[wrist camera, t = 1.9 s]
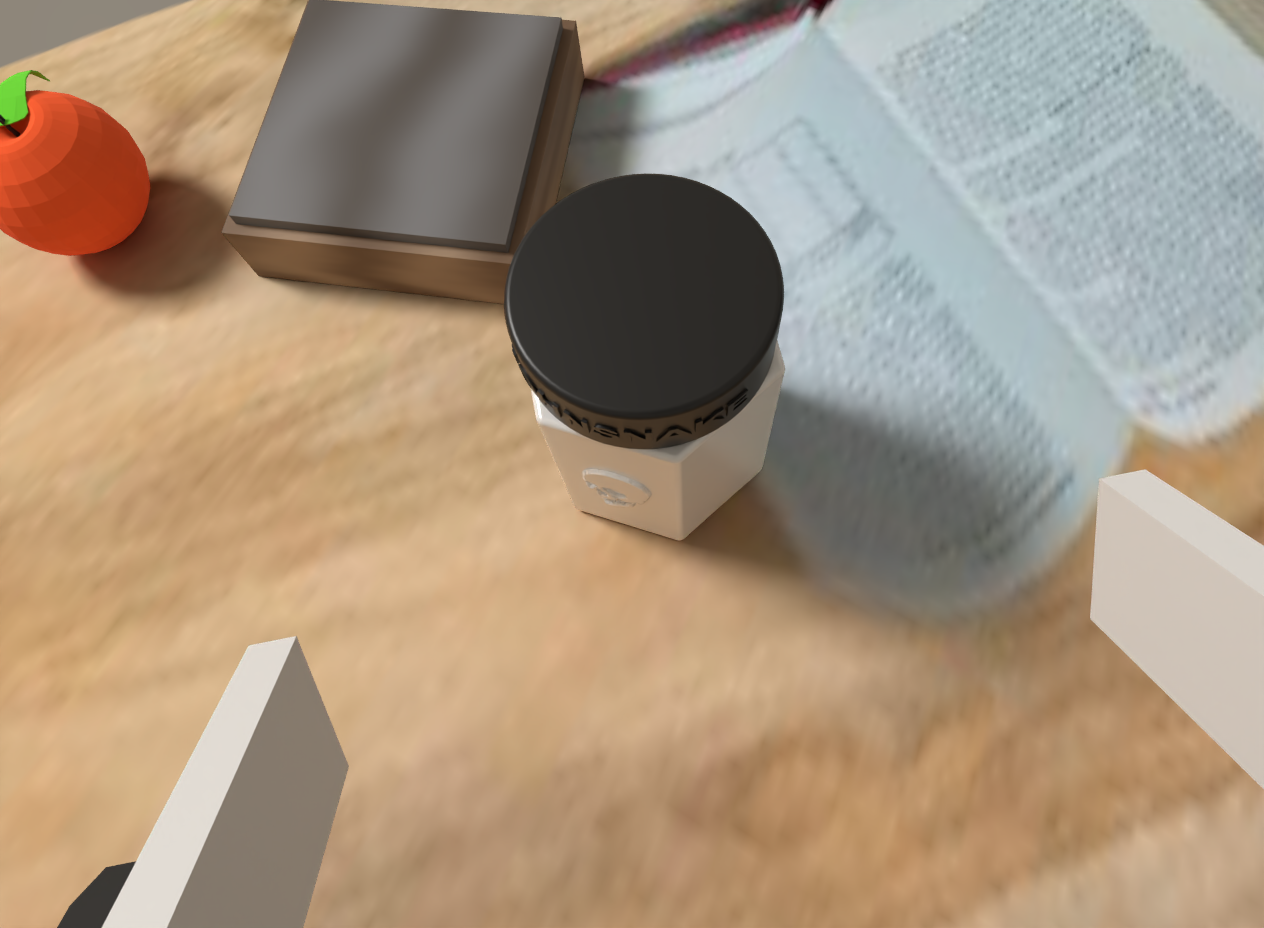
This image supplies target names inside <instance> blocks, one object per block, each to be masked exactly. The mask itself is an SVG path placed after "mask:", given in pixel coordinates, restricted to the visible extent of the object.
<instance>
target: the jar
mask: <svg viewBox="0 0 1264 928" xmlns="http://www.w3.org/2000/svg"><path fill="white" fill-rule="evenodd" d="M783 303H784V285H783V276H782V271H781V267H780V263H779V260H778V257H777V254H776V251H775V249H774V247H773V245H772V243H771V241H770V239H769V237H768V236H767V234H766V232H765V231H764V230H763V228H762V227H761V226H760V224H759V223H758V222H757V221H756V220H755V218H754V217H753V216H752V215H751V214H750V213H749V212H748V211H747V210H746V209H744V208H743V207H742V206H741V205H740V204H738V203H737V202H736V201H734V200H733V199H732V198H730V197H728V196H727V195H725V194H723V193H722V192H720V191H718V190H716V189H714V188H712V187H710V186H708V185H705V184H702V183H700V182H697V181H694V180H690V179H687V178H683V177H678V176H672V175H664V174H632V175H625V176H619V177H614V178H610V179H606V180H603V181H599V182H596V183H593V184H591V185H589V186H586V187H584V188H582V189H580V190H578V191H576V192H574V193H572V194H570V195H568V196H567V197H565V198H564V199H562V200H561V201H559V202H558V203H556V204H555V205H554V206H552V207H551V208H550V209H549V210H548V211H547V212H545V213H544V214H543V215H542V216H541V217H540V218H539V219H538V220H537V221H536V222H535V223H534V225H533V226H532V227H531V228H530V229H529V231H528V232H527V233H526V235H525V236H524V238H523V239H522V241H521V243H520V244H519V246H518V248H517V250H516V252H515V254H514V256H513V258H512V261H511V264H510V266H509V270H508V274H507V277H506V283H505V290H504V313H505V320H506V325H507V329H508V333H509V336H510V339H511V342H512V348H513V349H512V351H513V353H514V356H515V358H516V361H517V363H518V365H519V368H520V370H521V372H522V374H523V376H524V378H525V380H526V382H527V383H528V385H529V386H530V388H531V393H532V399H533V404H534V410H535V416H536V421H537V423H538V425H539V427H540V430H541V432H542V434H543V437H544V439H545V441H546V444H547V446H548V448H549V450H550V453H551V455H552V457H553V460H554V462H555V464H556V466H557V469H558V471H559V473H560V476H561V478H562V480H563V483H564V485H565V487H566V489H567V492H568V494H569V496H570V499H571V501H572V503H573V505H574V507H575V508H576V509H578V510H580V511H584V512H587V513H590V514H593V515H597V516H600V517H603V518H607V519H610V520H613V521H616V522H620V523H623V524H626V525H629V526H633V527H636V528H639V529H642V530H646V531H649V532H652V533H655V534H659V535H662V536H665V537H668V538H671V539H675V540H683V539H684V538H686V537H687V536H688V535H689V534H690V533H691V532H692V531H693V530H694V529H696V528H697V527H698V526H699V525H700V524H701V523H702V522H703V521H705V520H706V519H707V518H708V517H709V516H710V515H711V514H712V513H714V512H715V511H716V510H717V509H718V508H719V507H720V506H721V505H723V504H724V503H725V502H726V501H727V500H728V499H729V498H730V497H732V496H733V495H734V494H735V493H736V492H737V491H738V490H740V489H741V488H742V487H743V486H744V485H745V484H746V483H747V482H749V481H750V480H751V479H752V478H753V477H754V476H755V475H757V474H758V473H759V472H760V471H761V470H762V468H763V464H764V460H765V455H766V451H767V446H768V442H769V438H770V433H771V429H772V425H773V420H774V416H775V412H776V407H777V403H778V399H779V394H780V390H781V386H782V381H783V377H784V373H785V365H784V361H783V358H782V355H781V351H780V348H779V344H778V341H777V337H778V332H779V327H780V322H781V317H782V311H783ZM519 363H521V364H519Z"/></svg>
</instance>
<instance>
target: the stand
mask: <svg viewBox="0 0 1264 928" xmlns="http://www.w3.org/2000/svg"><path fill="white" fill-rule="evenodd" d="M583 82H584V71H583V64H582V58H581V51H580V45H579V38H578V32H577V25H576V21H570V20H562V19H561V18H559V17H545V16H532V15H518V14H505V13H491V12H478V11H464V10H451V9H437V8H424V7H410V6H397V5H383V4H370V3H356V2H343V1H329V0H309V1H308V2H307V5H306V7H305V10H304V13H303V15H302V18H301V21H300V24H299V26H298V29H297V32H296V34H295V37H294V40H293V42H292V45H291V48H290V50H289V53H288V56H287V58H286V61H285V64H284V66H283V69H282V72H281V74H280V77H279V80H278V82H277V85H276V88H275V90H274V93H273V96H272V98H271V101H270V104H269V106H268V109H267V112H266V114H265V117H264V120H263V122H262V125H261V128H260V130H259V133H258V136H257V139H256V141H255V144H254V147H253V149H252V152H251V155H250V157H249V160H248V163H247V165H246V168H245V171H244V173H243V176H242V179H241V181H240V184H239V187H238V189H237V192H236V195H235V197H234V200H233V203H232V205H231V208H230V211H229V213H228V216H227V219H226V221H225V224H224V227H223V229H222V232H221V233H222V234H223V235H224V236H225V238H226V239H227V240H228V241H229V242H230V243H231V244H232V246H233V247H234V248H235V249H236V250H237V251H238V253H239V254H240V255H241V256H242V257H243V258H244V260H245V261H246V262H247V263H248V264H249V265H250V266H251V268H252V269H253V270H254V271H255V272H256V273H257V275H258V276H263V277H272V278H281V279H289V280H298V281H307V282H316V283H325V284H333V285H342V286H351V287H360V288H369V289H377V290H386V291H395V292H404V293H413V294H421V295H430V296H439V297H448V298H457V299H465V300H474V301H483V302H492V303H501V304H504V290H505V283H506V277H507V274H508V270H509V266H510V264H511V261H512V258H513V256H514V254H515V252H516V250H517V248H518V246H519V244H520V243H521V241H522V239H523V238H524V236H525V235H526V233H527V232H528V231H529V229H530V228H531V227H532V226H533V225H534V223H535V222H536V221H537V220H538V219H539V218H540V217H541V216H542V215H543V214H544V213H545V212H547V211H548V210H549V209H550V208H551V207H552V206H554V205H555V204H556V200H557V195H558V191H559V187H560V182H561V178H562V174H563V169H564V165H565V160H566V156H567V152H568V147H569V143H570V138H571V134H572V130H573V125H574V121H575V117H576V112H577V108H578V103H579V99H580V95H581V90H582V86H583Z"/></svg>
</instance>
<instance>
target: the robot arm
mask: <svg viewBox="0 0 1264 928" xmlns="http://www.w3.org/2000/svg"><path fill="white" fill-rule="evenodd" d="M1090 619H1091V620H1092V621H1093V622H1094V623H1095V624H1096V625H1097V626H1098V627H1099V628H1100V629H1101V630H1102V631H1103V632H1104V633H1105V634H1106V635H1107V636H1108V637H1109V638H1110V639H1111V640H1112V641H1113V642H1114V643H1115V644H1117V645H1118V646H1119V647H1120V648H1121V649H1122V650H1123V651H1124V652H1125V653H1126V654H1127V655H1128V656H1129V657H1130V658H1131V659H1132V660H1133V661H1134V662H1135V663H1136V664H1137V665H1138V666H1139V667H1140V668H1141V669H1142V670H1143V671H1144V672H1145V673H1146V674H1147V675H1148V676H1149V677H1150V678H1151V679H1152V680H1153V681H1154V682H1155V683H1156V684H1157V685H1158V686H1159V687H1160V688H1161V689H1162V690H1163V691H1164V692H1165V693H1166V694H1167V695H1168V696H1169V697H1170V698H1171V699H1172V700H1173V701H1175V702H1176V703H1177V704H1178V705H1179V706H1180V707H1181V708H1182V709H1183V710H1184V711H1185V712H1186V713H1187V714H1188V715H1189V716H1190V717H1191V718H1192V719H1193V720H1194V721H1195V722H1196V723H1197V724H1198V725H1199V726H1200V727H1201V728H1202V729H1203V730H1204V731H1205V732H1206V733H1207V734H1208V735H1209V736H1210V737H1211V738H1212V739H1213V740H1214V741H1215V742H1216V743H1217V744H1218V745H1219V746H1220V747H1221V748H1222V749H1223V750H1224V751H1225V752H1226V753H1227V754H1228V755H1229V756H1230V757H1231V758H1233V759H1234V760H1235V761H1236V762H1237V763H1238V764H1239V765H1240V766H1241V767H1242V768H1243V769H1244V770H1245V771H1246V772H1247V773H1248V774H1249V775H1250V776H1251V777H1252V778H1253V779H1254V780H1255V781H1256V782H1257V783H1258V784H1259V785H1260V786H1261V787H1262V788H1263V789H1264V546H1263V545H1261V544H1260V543H1258V542H1257V541H1255V540H1254V539H1252V538H1251V537H1249V536H1248V535H1246V534H1244V533H1243V532H1241V531H1240V530H1238V529H1237V528H1235V527H1234V526H1232V525H1230V524H1229V523H1227V522H1226V521H1224V520H1223V519H1221V518H1220V517H1218V516H1217V515H1215V514H1213V513H1212V512H1210V511H1209V510H1207V509H1206V508H1204V507H1203V506H1201V505H1199V504H1198V503H1196V502H1195V501H1193V500H1192V499H1190V498H1189V497H1187V496H1186V495H1184V494H1182V493H1181V492H1179V491H1178V490H1176V489H1175V488H1173V487H1172V486H1170V485H1168V484H1167V483H1165V482H1164V481H1162V480H1161V479H1159V478H1158V477H1156V476H1155V475H1153V474H1151V473H1150V472H1148V471H1147V470H1140V471H1135V472H1130V473H1125V474H1120V475H1115V476H1109V477H1104V478H1099V489H1098V504H1097V520H1096V536H1095V552H1094V567H1093V583H1092V599H1091V615H1090ZM348 767H349V766H348V763H347V761H346V758H345V756H344V753H343V751H342V748H341V746H340V743H339V741H338V738H337V736H336V733H335V731H334V728H333V726H332V723H331V721H330V718H329V716H328V714H327V711H326V709H325V706H324V704H323V701H322V699H321V696H320V694H319V691H318V689H317V686H316V684H315V681H314V679H313V676H312V674H311V671H310V669H309V666H308V664H307V661H306V659H305V656H304V654H303V651H302V649H301V646H300V644H299V642H298V639H297V637H296V636H295V637H289V638H284V639H279V640H274V641H269V642H264V643H259V644H254V645H249V646H248V648H247V650H246V652H245V654H244V656H243V657H242V659H241V661H240V663H239V665H238V667H237V669H236V671H235V673H234V675H233V677H232V679H231V680H230V682H229V684H228V686H227V688H226V690H225V692H224V694H223V696H222V698H221V700H220V702H219V704H218V705H217V707H216V709H215V711H214V713H213V715H212V717H211V719H210V721H209V723H208V725H207V727H206V728H205V730H204V732H203V734H202V736H201V738H200V740H199V742H198V744H197V746H196V748H195V750H194V751H193V753H192V755H191V757H190V759H189V761H188V763H187V765H186V767H185V769H184V771H183V773H182V775H181V776H180V778H179V780H178V782H177V784H176V786H175V788H174V790H173V792H172V794H171V796H170V798H169V799H168V801H167V803H166V805H165V807H164V809H163V811H162V813H161V815H160V817H159V819H158V821H157V823H156V824H155V826H154V828H153V830H152V832H151V834H150V836H149V838H148V840H147V842H146V844H145V846H144V847H143V849H142V851H141V853H140V855H139V857H138V859H137V861H136V862H131V863H126V864H121V865H116V866H111V867H106V868H105V869H104V870H103V871H102V872H101V873H100V874H99V875H98V877H97V878H96V879H95V880H94V881H93V882H92V883H91V884H90V885H89V886H88V887H87V888H86V889H85V890H84V891H83V892H82V893H81V895H80V896H79V897H78V898H77V899H76V900H75V901H74V902H73V903H72V904H71V905H70V906H69V908H68V910H67V912H66V913H65V915H64V917H63V919H62V920H61V922H60V924H59V926H58V927H57V928H303V926H304V923H305V919H306V915H307V912H308V908H309V905H310V901H311V898H312V894H313V891H314V887H315V884H316V880H317V877H318V873H319V870H320V866H321V863H322V859H323V855H324V852H325V848H326V845H327V841H328V838H329V834H330V831H331V827H332V824H333V820H334V817H335V813H336V810H337V806H338V802H339V799H340V795H341V792H342V788H343V785H344V781H345V778H346V774H347V771H348Z"/></svg>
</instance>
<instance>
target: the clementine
mask: <svg viewBox="0 0 1264 928" xmlns="http://www.w3.org/2000/svg"><path fill="white" fill-rule="evenodd" d="M29 74H33V75H35V76H38V77H40V78H42V79H45V80H47V81H50V80H48V79H47V78H46V77H44V76H43V75H42V74H41V73H39V72H38V71H33V70H30V71H25V72H20V73H17V74H15V75H13V76H11V77H9V78H8V79H6V80H5V81H4V82H2V83H1V85H0V229H1V230H2V231H3V232H4V233H6V234H7V235H9V236H11V237H12V238H14V239H16V240H18V241H19V242H21V243H23V244H25V245H28V246H30V247H32V248H34V249H37V250H41V251H45V252H49V253H53V254H60V255H68V256H71V255H80V254H90V253H97V252H100V251H103V250H106V249H109V248H111V247H113V246H115V245H117V244H118V243H120V242H122V241H123V240H124V239H126V238H127V237H128V236H129V235H130V234H131V233H133V232H134V230H135V229H136V228H137V226H138V225H139V224H140V222H141V221H142V219H143V216H144V214H145V212H146V209H147V205H148V200H149V193H150V181H149V175H148V171H147V166H146V162H145V158H144V156H143V155H142V153H141V151H140V150H139V148H138V146H137V145H136V143H135V141H134V140H133V138H132V137H131V135H130V134H129V132H128V131H127V130H126V129H125V128H124V127H123V126H122V125H120V124H119V123H118V122H117V121H116V120H115V119H114V118H112V117H111V116H110V115H109V114H107V113H106V112H105V111H104V110H103V109H101V108H100V107H97V106H95V105H93V104H91V103H89V102H87V101H85V100H82V99H80V98H77V97H75V96H72V95H70V94H64V93H56V92H49V91H40V90H36V91H26V78H27V77H28V75H29Z"/></svg>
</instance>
